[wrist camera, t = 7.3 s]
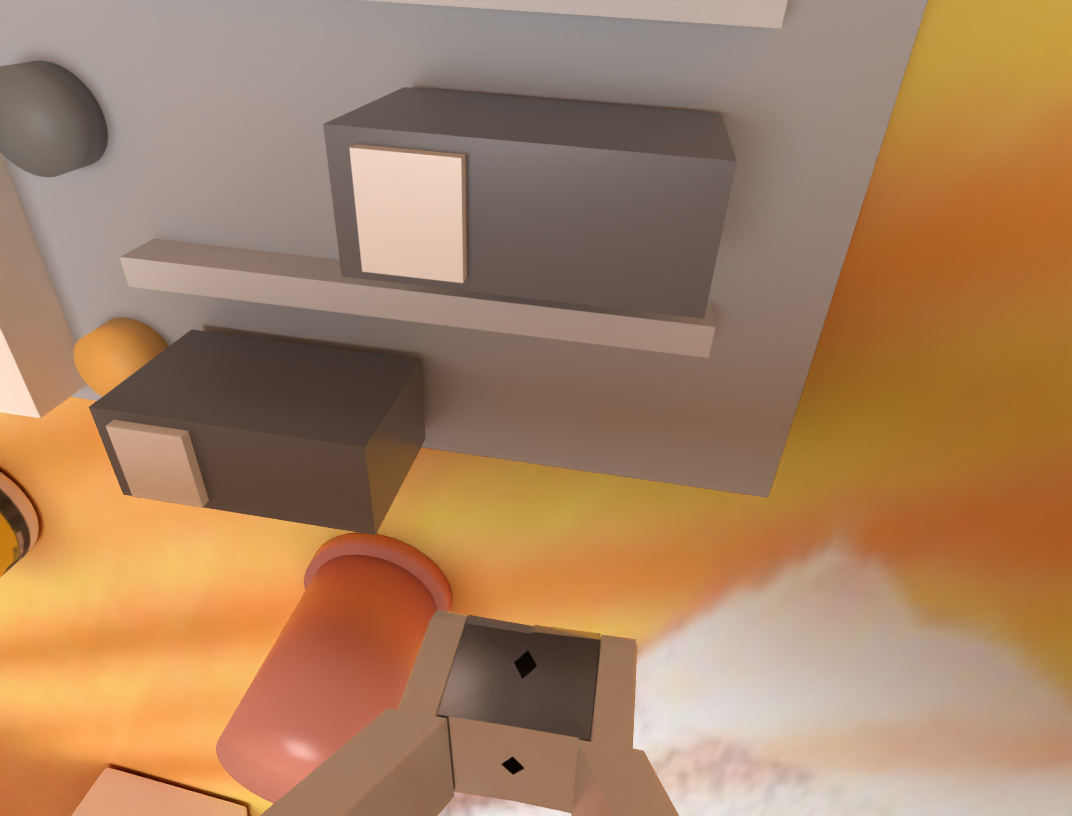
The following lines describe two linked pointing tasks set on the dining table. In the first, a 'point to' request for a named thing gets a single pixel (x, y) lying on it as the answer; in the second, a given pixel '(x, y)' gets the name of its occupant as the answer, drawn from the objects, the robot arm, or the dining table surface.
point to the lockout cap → (333, 660)
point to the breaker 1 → (267, 429)
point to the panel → (411, 310)
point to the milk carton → (148, 799)
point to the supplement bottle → (15, 524)
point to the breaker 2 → (532, 198)
